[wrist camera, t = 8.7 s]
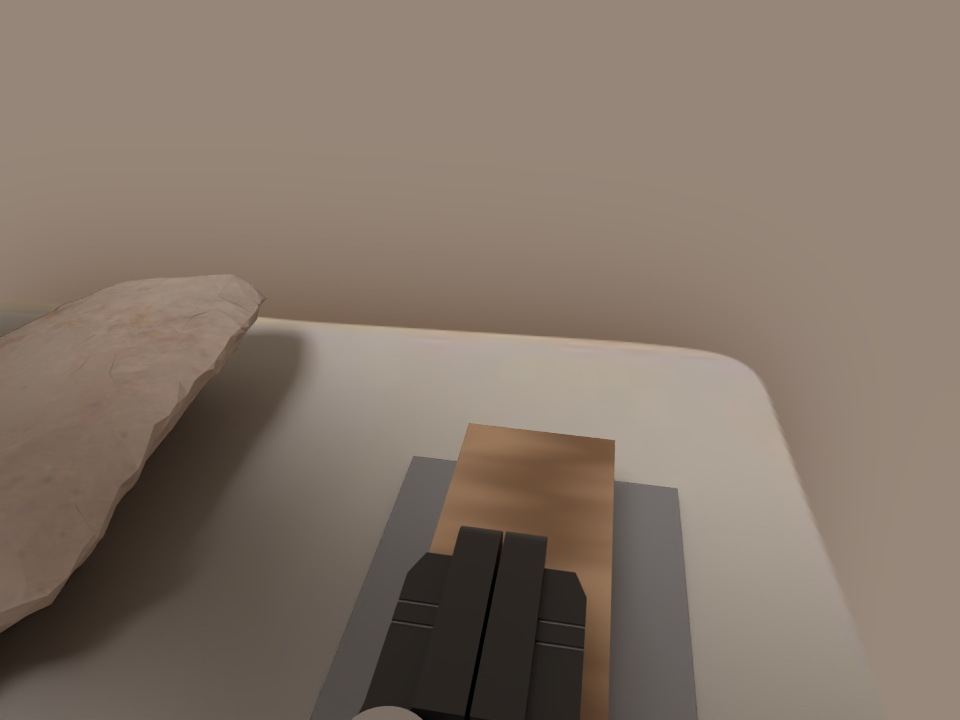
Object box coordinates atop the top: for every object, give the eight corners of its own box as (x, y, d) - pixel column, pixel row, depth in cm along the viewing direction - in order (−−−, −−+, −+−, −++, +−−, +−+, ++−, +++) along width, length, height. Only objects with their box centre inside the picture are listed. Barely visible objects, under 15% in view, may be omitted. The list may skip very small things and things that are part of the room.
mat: (274, 824, 18) (272, 815, 18) (413, 464, 30) (413, 456, 30) (709, 906, 17) (712, 897, 17) (675, 496, 29) (677, 488, 29)
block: (352, 798, 14) (469, 423, 24) (364, 923, 16) (466, 532, 27) (605, 843, 13) (614, 439, 24) (581, 968, 16) (599, 550, 26)
